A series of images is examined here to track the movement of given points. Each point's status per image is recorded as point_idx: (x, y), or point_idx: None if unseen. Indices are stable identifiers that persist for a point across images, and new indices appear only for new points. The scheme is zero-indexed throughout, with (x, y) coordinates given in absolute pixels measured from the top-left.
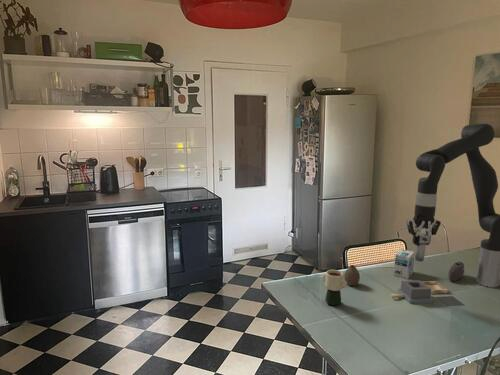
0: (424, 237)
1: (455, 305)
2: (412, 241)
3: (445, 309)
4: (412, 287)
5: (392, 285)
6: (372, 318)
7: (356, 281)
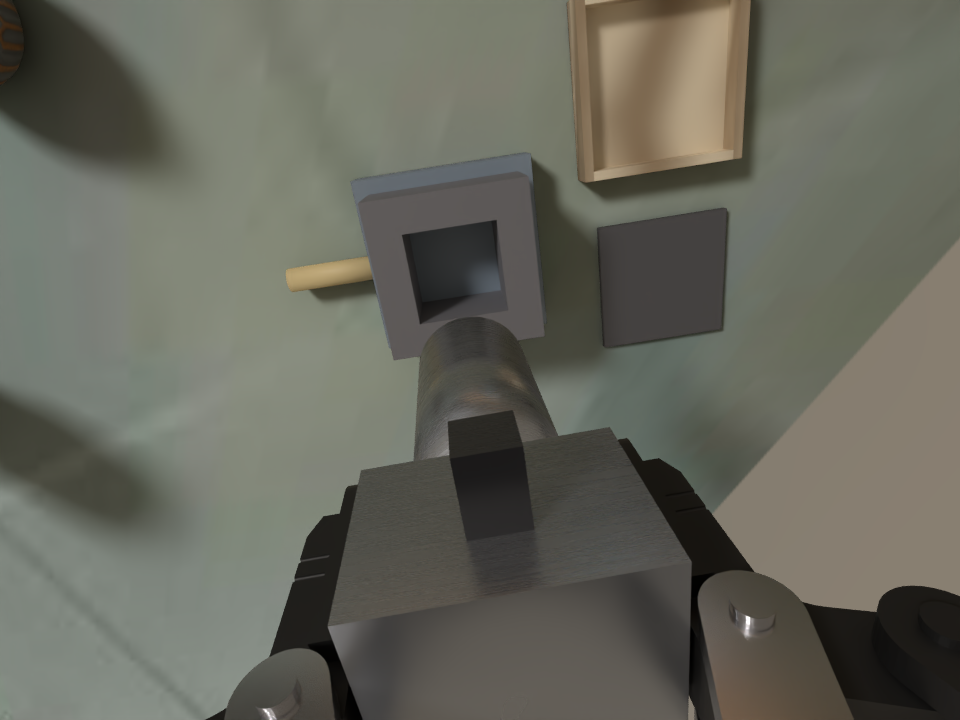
0: None
1: (661, 337)
2: (308, 537)
3: (581, 374)
4: (411, 326)
5: (347, 23)
6: (154, 501)
7: None
